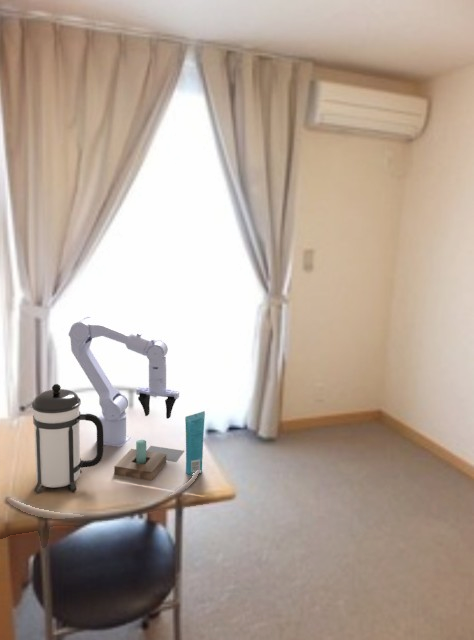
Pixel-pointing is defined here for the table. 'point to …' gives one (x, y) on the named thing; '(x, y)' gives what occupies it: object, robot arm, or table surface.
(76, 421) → the coffee press
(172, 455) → the mat
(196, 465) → the teal shampoo bottle
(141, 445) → the peg
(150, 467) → the hole block
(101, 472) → the table surface
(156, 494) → the table surface
